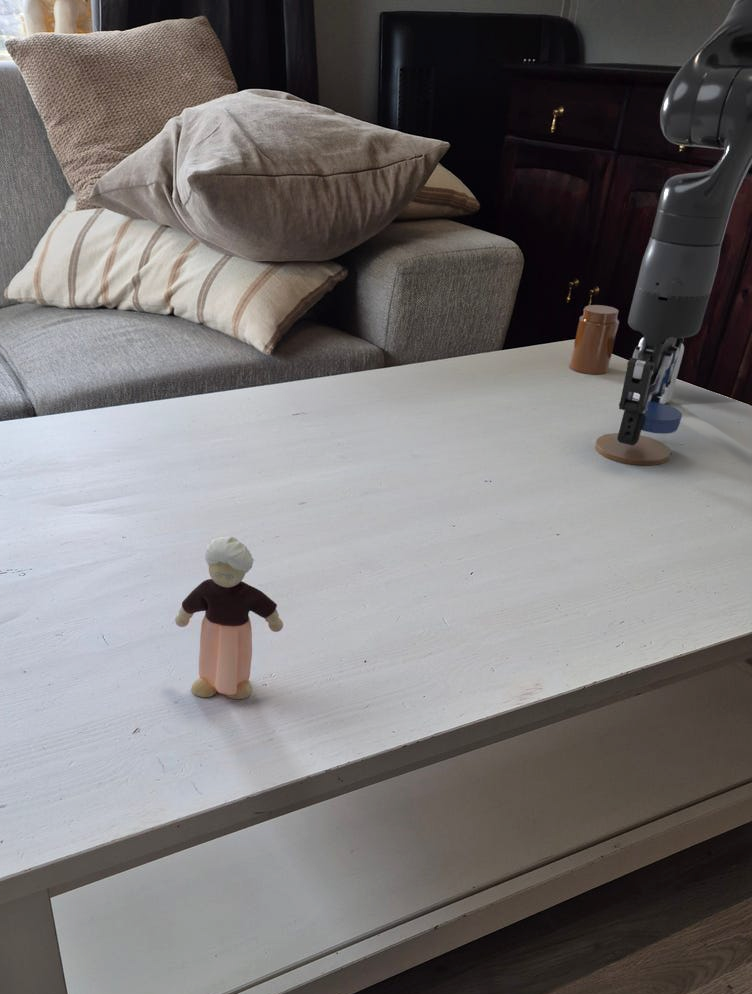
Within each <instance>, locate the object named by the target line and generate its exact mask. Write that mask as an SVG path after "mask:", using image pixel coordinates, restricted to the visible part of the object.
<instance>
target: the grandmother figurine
mask: <svg viewBox="0 0 752 994" xmlns="http://www.w3.org/2000/svg"><path fill="white" fill-rule="evenodd" d="M204 557H205V558H204V559H205V562H206V565H208V573H209V576H210V578H208V579H205V580H203V581H202V582H201V583H199V584H197V586H196V587H195V588H194V589H192V591H191V592H190V593H189V594H188V595H187V596H186V597H185V598H184V599H183V601H182V603H181V606H180V608H179V610H178V614H177V615H176V616H175V618H174V623H175V624H176V626H178V627H179V628H185V627H187V626H188V625H189V623H190V620H191V618H193V616H194V614H195V613H199V612H204V616H203V618H202V620H201V625H200V633H199V634H200V635H199V636H200V637H199V651H198V652H199V653H198V676H199V677H198V678H197V679H196V680H195V681H193V683H192V684H191V687H190V692H191V693H192V695H194V696H196V697H201V698H209V697H212V696H214V695H216V694H217V693H220V694H223V695H225V696H226V697H228V698H229V699H232V700H244V699H247V698H248V697H250V695H251V694H252V687H251V684H250V683H251V682H250V676H251V667H252V657H253V632H252V630H253V629H252V622H251V619H250V618H251V617H250V616H249V613H250V612H252V613H253V614H256V615H257V616H259V617H260V618H262V619H264V620H265V622H267V623H268V625H267V626H268V628H269V629H270V631H271V632H273V633H278V632H281V631H282V630H283V628H284V622H283V621H282V619H281V618H280V615H279V613H278V610H277V607H278V604H277V603H276V602H275V601H274V600H273V599H271V597H269V596H268V595H267V594H266V593H264V592H263V591H262V590H260V589H258V588H256V587H255V586H252V585H250V584H248V583H246V582H244V581H243V579H244V578H245V576H246V574H247V573H248V572H250V571H251V569H252V568H253V564H254V561H255V559H254V558H253V555H252V553H251V552H250V550H249V549H248V547H247V546H246V545H245V543H243V542H241V541H240V540H239V539H237V538H236V537H235V536H223V537H220V536H219V537H216V538H214V539H212V540H211V541H210V543H208V545H207V547H206V549H205V552H204Z"/></svg>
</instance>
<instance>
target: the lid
mask: <svg viewBox="0 0 752 994" xmlns="http://www.w3.org/2000/svg"><path fill="white" fill-rule="evenodd" d="M682 419H683V414H682V412H681V411H680V410H679V409H678V408H676V407H674V406H671V405H669V404H667V403H665V404H662V403H657V402H651V401H650V403H649V406H648V411H647V412H646V414H645V417H644V421H643V425H642V429H641V431H642V432H646V433H652V434H658V435H659V434H661V435H664V434H665V435H666V434H672V433H675V432H677V431H678V429H679V427H680V424H681V421H682Z"/></svg>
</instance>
